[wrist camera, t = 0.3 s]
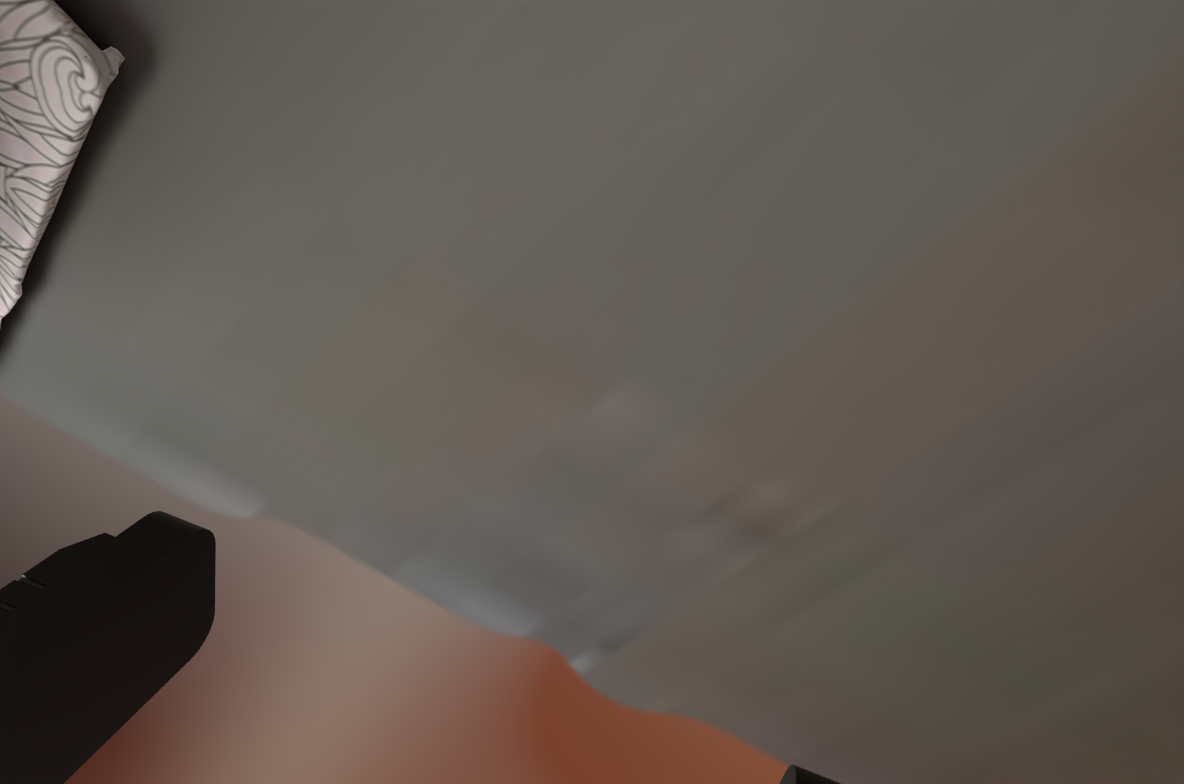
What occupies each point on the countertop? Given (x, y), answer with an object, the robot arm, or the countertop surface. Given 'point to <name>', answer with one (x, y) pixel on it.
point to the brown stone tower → (41, 123)
